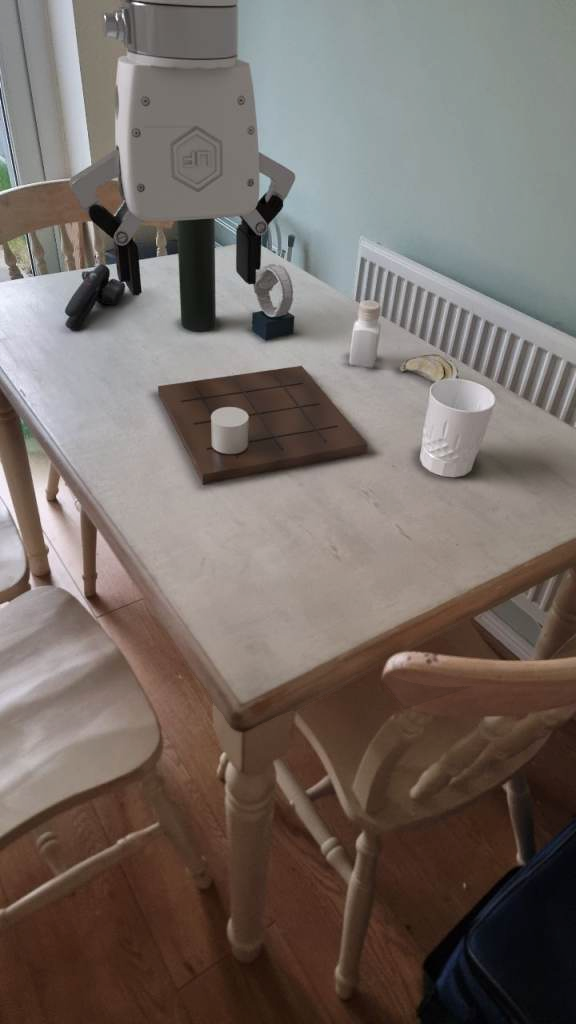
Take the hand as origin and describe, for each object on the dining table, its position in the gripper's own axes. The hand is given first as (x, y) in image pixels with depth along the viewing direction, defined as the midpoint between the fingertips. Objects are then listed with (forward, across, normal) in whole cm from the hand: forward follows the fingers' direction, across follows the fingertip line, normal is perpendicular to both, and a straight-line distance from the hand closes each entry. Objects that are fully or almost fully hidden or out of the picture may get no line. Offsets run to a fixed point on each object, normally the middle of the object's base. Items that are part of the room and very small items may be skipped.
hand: (190, 283), depth 58 cm
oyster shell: (+28, +43, +23) cm, 56 cm away
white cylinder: (+27, +8, +14) cm, 31 cm away
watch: (+28, +26, +46) cm, 60 cm away
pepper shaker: (+28, +36, +32) cm, 56 cm away
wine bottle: (+28, +15, +52) cm, 61 cm away
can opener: (+28, -1, +62) cm, 68 cm away
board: (+28, +14, +20) cm, 37 cm away
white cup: (+28, +34, +4) cm, 45 cm away
